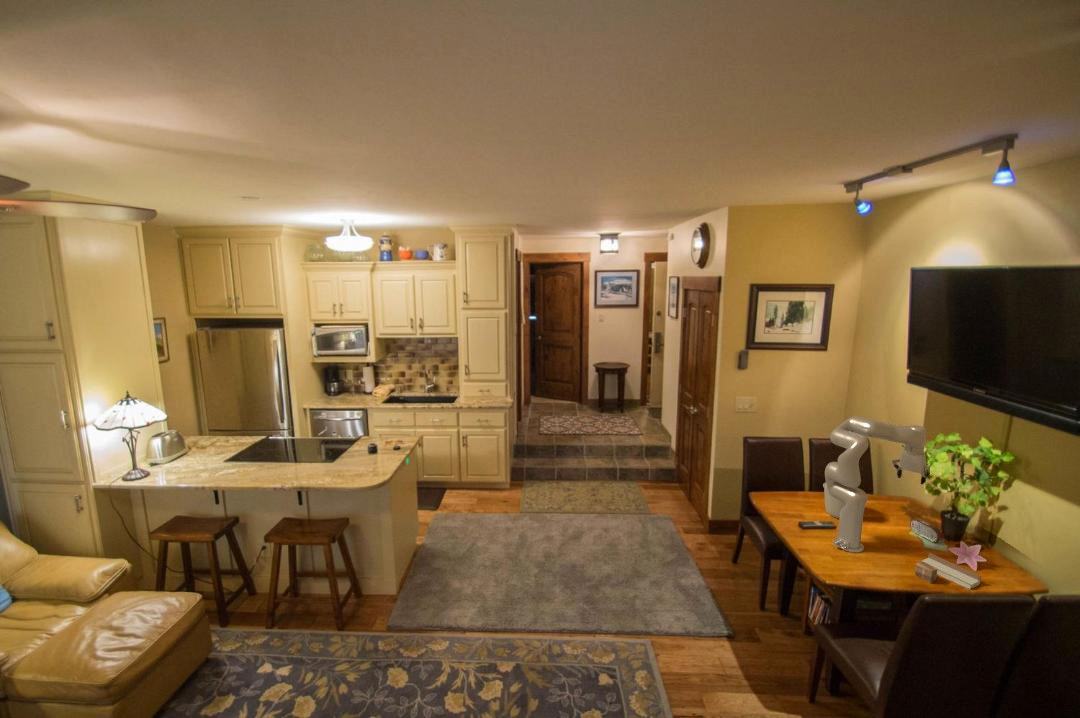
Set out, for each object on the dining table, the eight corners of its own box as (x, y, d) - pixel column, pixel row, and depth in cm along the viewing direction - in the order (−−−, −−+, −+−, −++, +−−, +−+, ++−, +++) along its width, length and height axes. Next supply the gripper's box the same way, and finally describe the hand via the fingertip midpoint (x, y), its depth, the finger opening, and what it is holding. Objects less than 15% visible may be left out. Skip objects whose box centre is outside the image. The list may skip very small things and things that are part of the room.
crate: (930, 583, 202) (931, 571, 201) (914, 575, 208) (916, 563, 207) (936, 580, 204) (937, 568, 203) (920, 573, 209) (922, 561, 208)
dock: (969, 589, 197) (971, 581, 197) (919, 565, 215) (920, 557, 214) (979, 584, 201) (981, 576, 200) (929, 560, 218) (930, 553, 217)
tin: (942, 545, 230) (944, 529, 229) (937, 545, 230) (939, 530, 228) (912, 529, 245) (914, 515, 243) (907, 530, 244) (909, 515, 243)
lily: (943, 557, 222) (945, 546, 217) (963, 546, 223) (966, 534, 218) (969, 578, 212) (972, 567, 207) (991, 567, 212) (994, 555, 207)
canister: (866, 518, 257) (869, 483, 253) (843, 525, 250) (847, 489, 247) (835, 504, 273) (837, 471, 270) (813, 511, 267) (816, 477, 263)
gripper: (891, 446, 240) (888, 477, 243) (933, 455, 227) (929, 488, 229) (896, 443, 245) (893, 473, 247) (938, 452, 231) (934, 484, 234)
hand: (910, 480), depth 238 cm, fingers open, 9 cm apart
